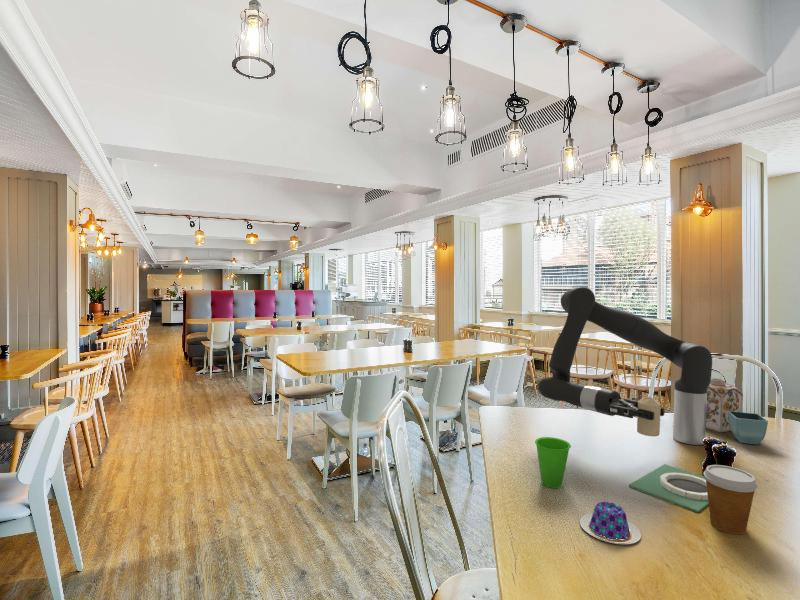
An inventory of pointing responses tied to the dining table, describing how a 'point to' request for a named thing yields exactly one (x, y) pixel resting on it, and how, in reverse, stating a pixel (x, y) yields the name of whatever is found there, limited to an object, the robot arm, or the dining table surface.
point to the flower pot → (747, 427)
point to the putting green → (675, 487)
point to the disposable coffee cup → (729, 497)
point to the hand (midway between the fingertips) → (658, 414)
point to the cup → (552, 460)
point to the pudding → (609, 523)
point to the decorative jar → (722, 404)
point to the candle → (644, 424)
